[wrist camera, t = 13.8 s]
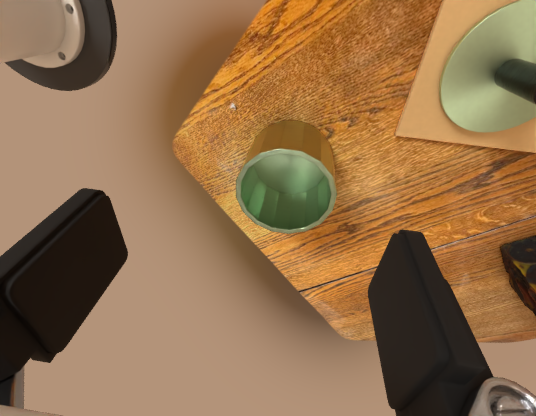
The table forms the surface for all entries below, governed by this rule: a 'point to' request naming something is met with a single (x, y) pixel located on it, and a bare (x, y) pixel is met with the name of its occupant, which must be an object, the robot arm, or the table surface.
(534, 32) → the lid
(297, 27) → the table surface
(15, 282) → the robot arm
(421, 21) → the table surface
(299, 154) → the pot
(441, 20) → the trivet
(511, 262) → the candle
